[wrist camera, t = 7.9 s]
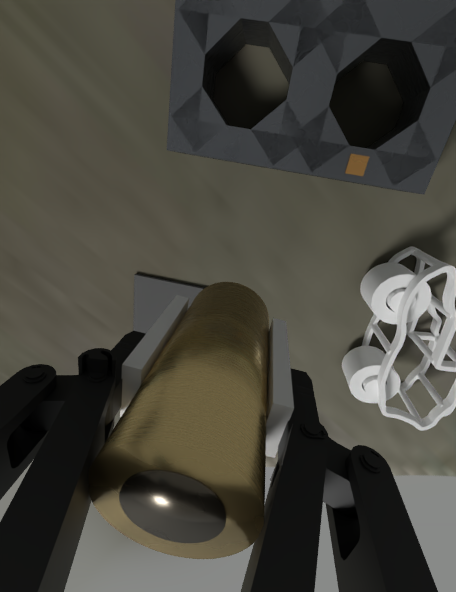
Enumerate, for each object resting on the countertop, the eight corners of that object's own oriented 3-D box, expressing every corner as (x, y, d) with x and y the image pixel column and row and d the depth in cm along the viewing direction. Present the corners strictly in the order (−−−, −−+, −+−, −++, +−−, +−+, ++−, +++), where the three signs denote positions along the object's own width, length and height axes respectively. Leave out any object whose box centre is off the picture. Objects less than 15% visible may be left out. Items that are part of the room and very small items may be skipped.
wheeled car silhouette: (365, 243, 33) (389, 261, 26) (469, 249, 31) (522, 270, 25) (333, 380, 41) (345, 420, 34) (415, 390, 40) (443, 434, 33)
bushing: (185, 342, 19) (86, 535, 9) (195, 273, 17) (82, 423, 7) (258, 360, 19) (241, 580, 9) (278, 292, 17) (287, 478, 7)
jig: (181, 153, 32) (166, 149, 27) (194, -3, 26) (177, -41, 21) (401, 191, 30) (424, 194, 25) (462, 33, 25) (507, 1, 20)
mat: (134, 357, 44) (132, 358, 44) (136, 273, 38) (134, 274, 38) (221, 376, 43) (221, 378, 43) (237, 294, 37) (237, 295, 37)
